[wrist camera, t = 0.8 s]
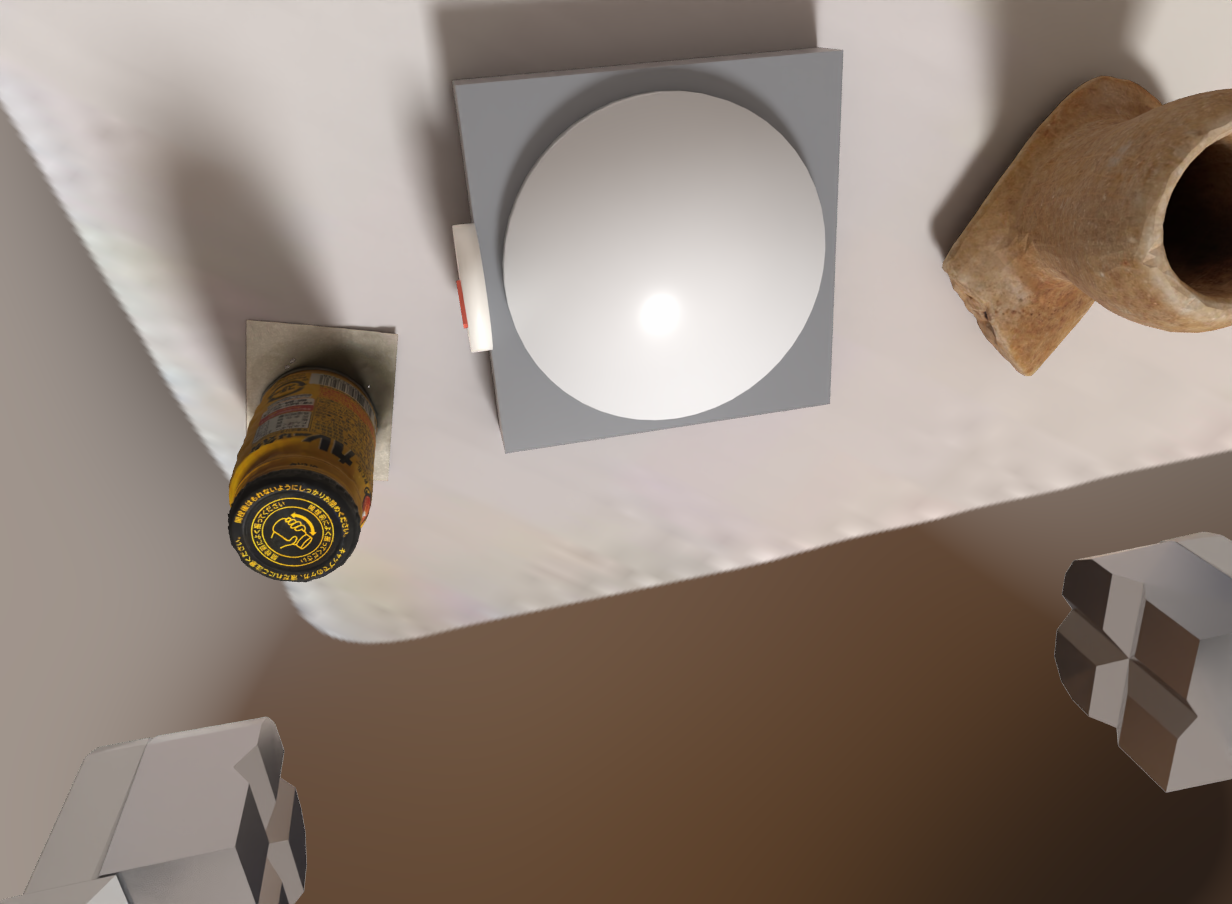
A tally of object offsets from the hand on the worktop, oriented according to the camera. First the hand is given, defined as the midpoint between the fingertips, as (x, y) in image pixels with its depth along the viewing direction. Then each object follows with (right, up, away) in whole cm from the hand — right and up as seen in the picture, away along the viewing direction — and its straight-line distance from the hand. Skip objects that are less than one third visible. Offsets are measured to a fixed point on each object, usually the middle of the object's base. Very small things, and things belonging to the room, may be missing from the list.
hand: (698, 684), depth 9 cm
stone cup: (+23, +16, +43) cm, 51 cm away
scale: (+1, +13, +39) cm, 41 cm away
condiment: (-16, +5, +39) cm, 43 cm away
